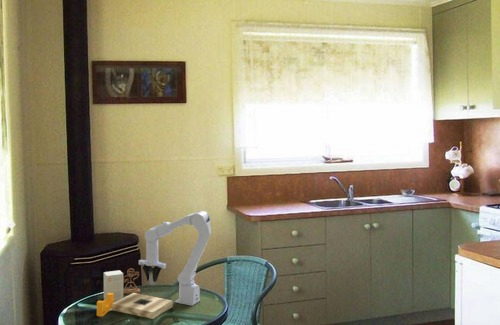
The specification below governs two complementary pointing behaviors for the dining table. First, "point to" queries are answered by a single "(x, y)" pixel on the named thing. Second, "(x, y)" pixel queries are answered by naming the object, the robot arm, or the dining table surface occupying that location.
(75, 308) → the dining table surface
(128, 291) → the brown openwork frame
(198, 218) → the robot arm
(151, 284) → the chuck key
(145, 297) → the block
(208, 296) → the dining table surface
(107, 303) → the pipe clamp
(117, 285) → the small box
